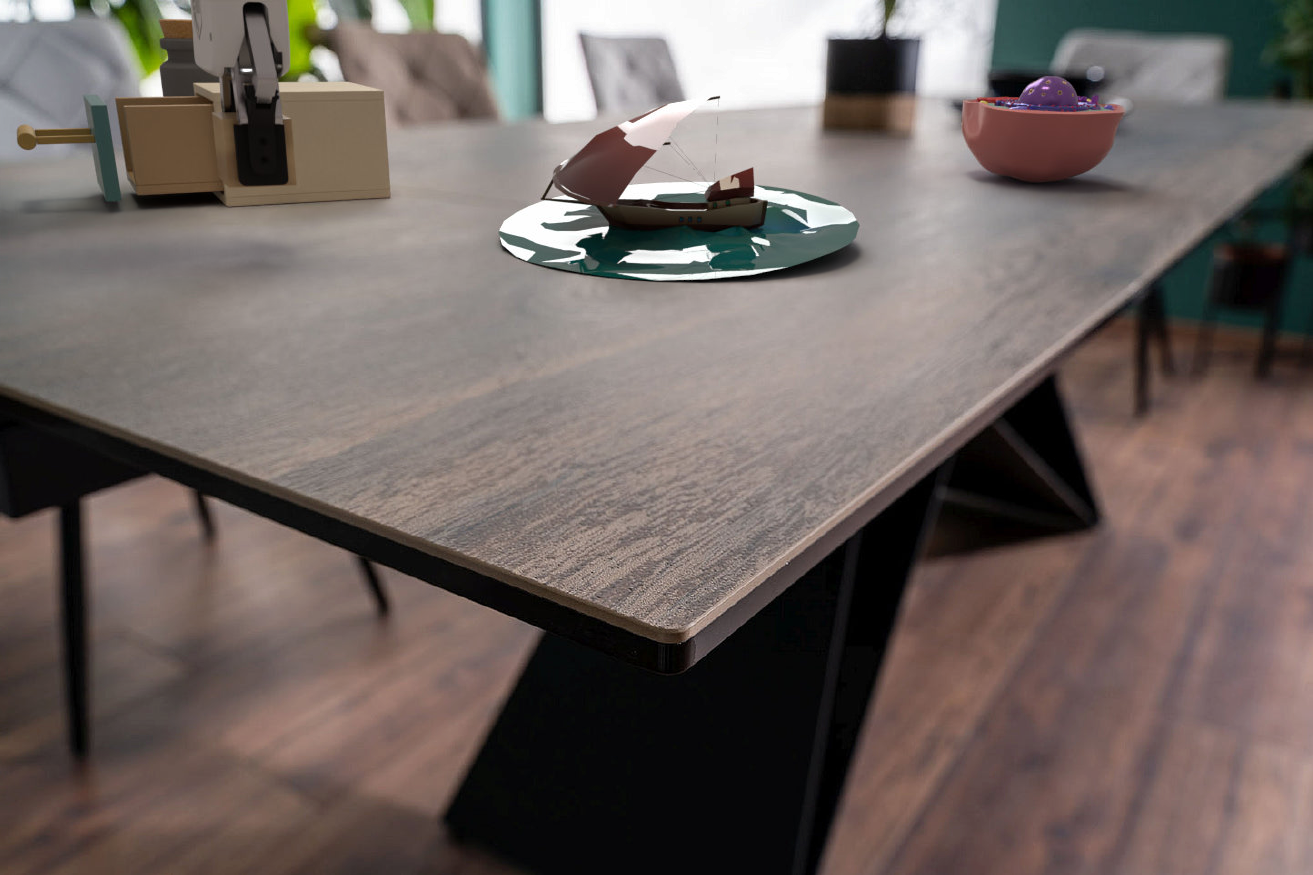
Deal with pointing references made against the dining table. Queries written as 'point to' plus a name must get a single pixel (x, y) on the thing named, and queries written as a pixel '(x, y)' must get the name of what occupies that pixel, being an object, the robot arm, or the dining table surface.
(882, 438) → the dining table surface
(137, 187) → the drawer
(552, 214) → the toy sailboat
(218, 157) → the block
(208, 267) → the dining table surface
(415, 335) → the dining table surface
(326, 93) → the cabinet
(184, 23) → the bottle
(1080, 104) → the cell model
